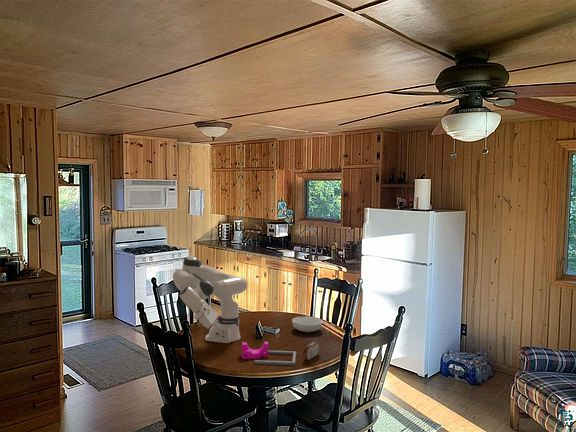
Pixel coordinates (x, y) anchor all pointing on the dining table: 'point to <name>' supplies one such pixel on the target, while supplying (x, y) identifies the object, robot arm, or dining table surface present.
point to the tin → (311, 350)
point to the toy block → (254, 351)
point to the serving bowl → (307, 323)
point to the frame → (279, 361)
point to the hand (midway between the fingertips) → (219, 327)
